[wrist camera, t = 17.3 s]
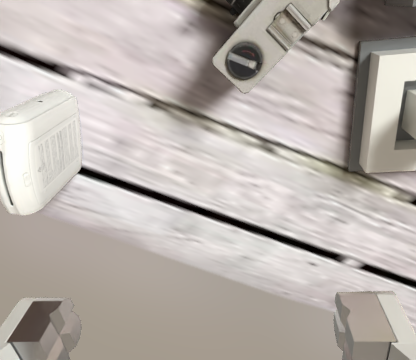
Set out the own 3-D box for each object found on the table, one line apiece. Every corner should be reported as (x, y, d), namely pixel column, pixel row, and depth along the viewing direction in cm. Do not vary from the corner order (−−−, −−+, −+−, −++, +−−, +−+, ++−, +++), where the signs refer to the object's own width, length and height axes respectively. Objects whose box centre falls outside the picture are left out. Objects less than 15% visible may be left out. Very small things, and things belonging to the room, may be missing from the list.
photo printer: (42, 85, 39) (-35, 119, 28) (80, 90, 39) (16, 126, 28) (52, 166, 44) (-10, 222, 33) (85, 171, 44) (33, 228, 33)
